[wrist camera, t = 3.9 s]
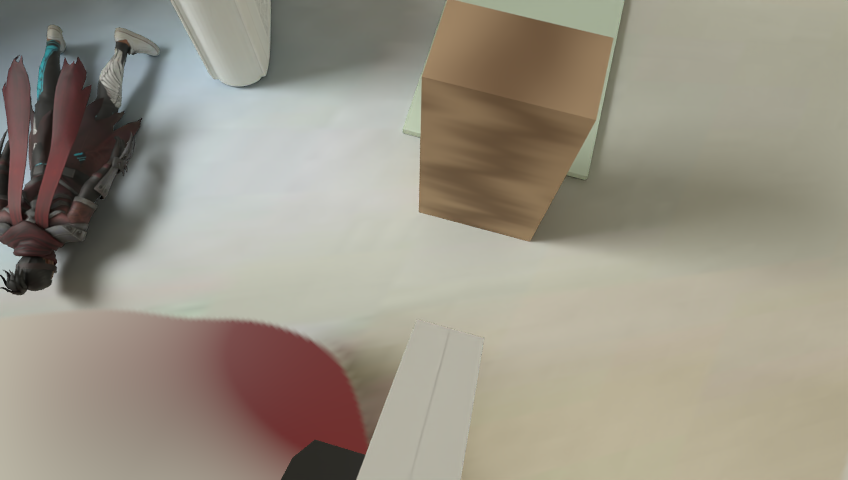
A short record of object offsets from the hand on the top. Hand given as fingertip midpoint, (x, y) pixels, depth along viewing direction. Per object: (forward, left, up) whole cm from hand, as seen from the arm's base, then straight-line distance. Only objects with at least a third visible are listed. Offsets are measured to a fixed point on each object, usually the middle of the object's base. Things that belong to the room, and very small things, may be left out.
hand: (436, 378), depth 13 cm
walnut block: (0, +14, -21) cm, 25 cm away
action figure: (-25, +9, -21) cm, 34 cm away
